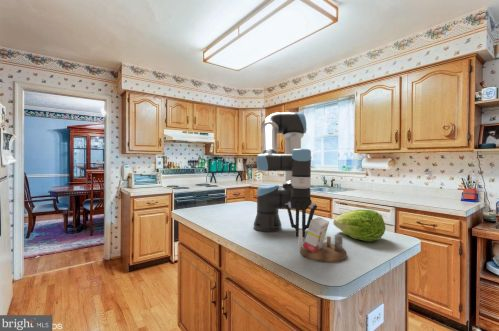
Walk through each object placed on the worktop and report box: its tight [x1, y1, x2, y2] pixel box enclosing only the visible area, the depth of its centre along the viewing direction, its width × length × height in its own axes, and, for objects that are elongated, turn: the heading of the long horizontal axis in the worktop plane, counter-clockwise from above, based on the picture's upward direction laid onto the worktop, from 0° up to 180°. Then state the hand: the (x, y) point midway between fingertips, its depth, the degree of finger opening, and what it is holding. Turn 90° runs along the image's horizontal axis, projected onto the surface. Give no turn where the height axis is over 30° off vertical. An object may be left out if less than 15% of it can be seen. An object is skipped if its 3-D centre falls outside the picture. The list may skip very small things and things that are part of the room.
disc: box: [299, 234, 348, 264], centre depth 102 cm, size 18×18×8 cm
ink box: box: [303, 216, 330, 253], centre depth 101 cm, size 9×5×12 cm, turn 141°
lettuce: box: [332, 209, 386, 243], centre depth 123 cm, size 17×24×14 cm
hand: (300, 244), depth 103 cm, fingers closed
